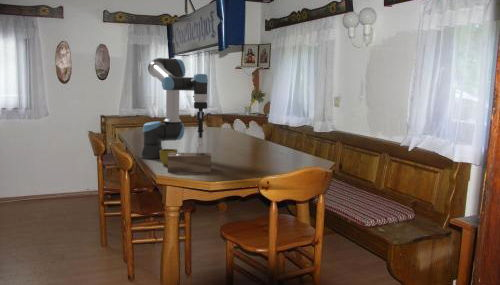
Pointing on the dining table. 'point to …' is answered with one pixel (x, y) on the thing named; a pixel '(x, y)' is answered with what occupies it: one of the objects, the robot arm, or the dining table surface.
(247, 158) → the dining table surface
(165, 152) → the flower pot
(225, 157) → the dining table surface
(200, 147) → the peg
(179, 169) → the tan grooved block
